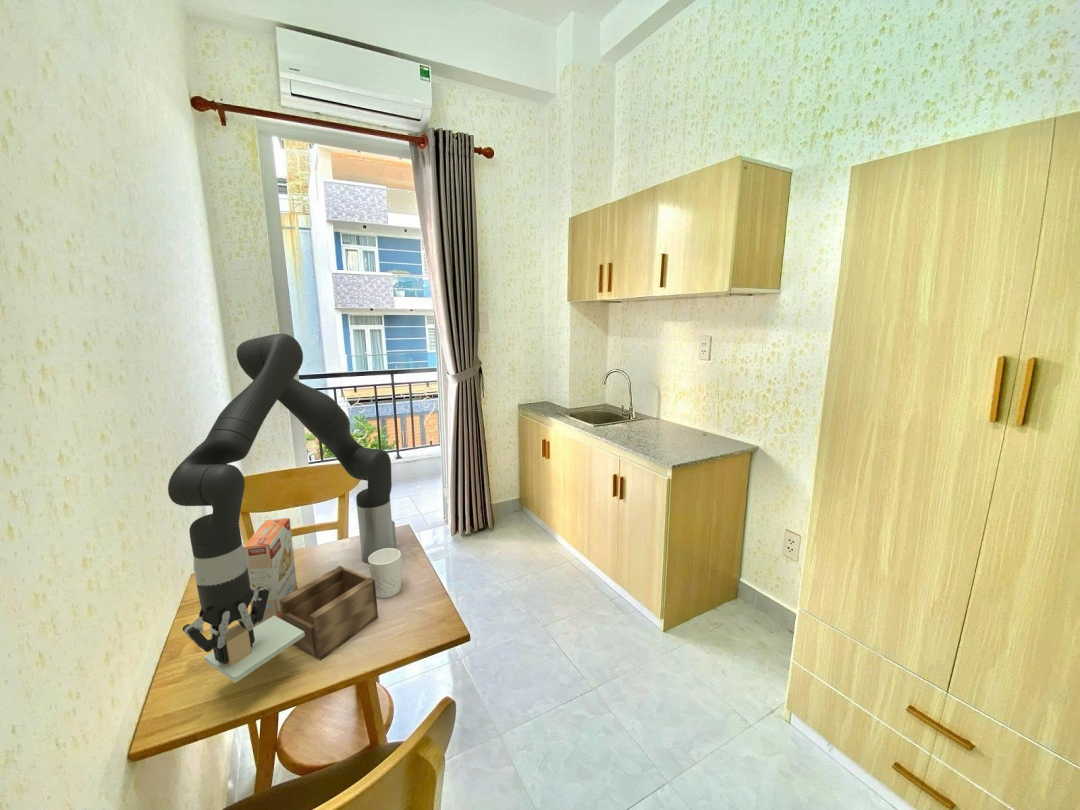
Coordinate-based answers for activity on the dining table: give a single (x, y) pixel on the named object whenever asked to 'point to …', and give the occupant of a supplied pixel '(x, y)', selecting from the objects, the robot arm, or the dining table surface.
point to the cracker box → (272, 563)
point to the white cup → (386, 571)
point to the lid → (254, 647)
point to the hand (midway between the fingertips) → (236, 653)
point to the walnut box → (330, 610)
